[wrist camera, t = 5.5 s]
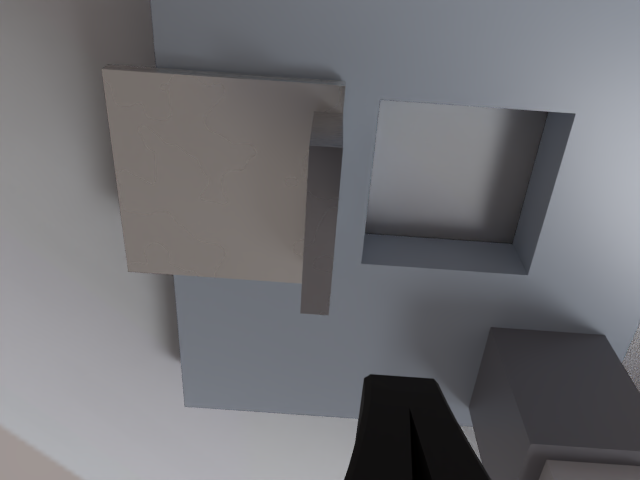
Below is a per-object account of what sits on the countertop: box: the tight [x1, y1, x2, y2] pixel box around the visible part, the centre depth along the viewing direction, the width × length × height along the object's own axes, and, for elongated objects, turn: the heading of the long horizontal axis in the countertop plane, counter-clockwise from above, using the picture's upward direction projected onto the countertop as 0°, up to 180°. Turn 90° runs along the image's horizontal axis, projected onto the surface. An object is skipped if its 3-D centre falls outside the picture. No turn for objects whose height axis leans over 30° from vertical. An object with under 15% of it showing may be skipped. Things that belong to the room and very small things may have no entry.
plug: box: [469, 327, 640, 480], centre depth 19 cm, size 4×4×6 cm
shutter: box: [101, 64, 345, 315], centre depth 16 cm, size 6×6×3 cm
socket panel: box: [150, 0, 640, 427], centre depth 19 cm, size 17×16×2 cm
